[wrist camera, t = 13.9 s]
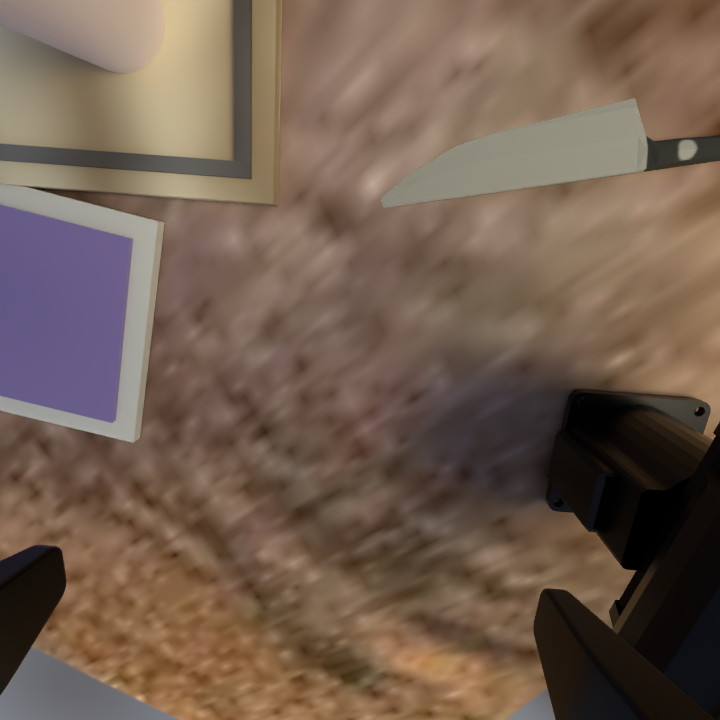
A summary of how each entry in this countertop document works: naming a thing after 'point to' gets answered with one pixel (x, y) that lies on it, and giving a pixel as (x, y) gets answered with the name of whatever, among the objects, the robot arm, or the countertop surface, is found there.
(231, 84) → the board
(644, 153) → the chef's knife
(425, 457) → the countertop surface
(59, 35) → the smoothie
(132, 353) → the ink pad
